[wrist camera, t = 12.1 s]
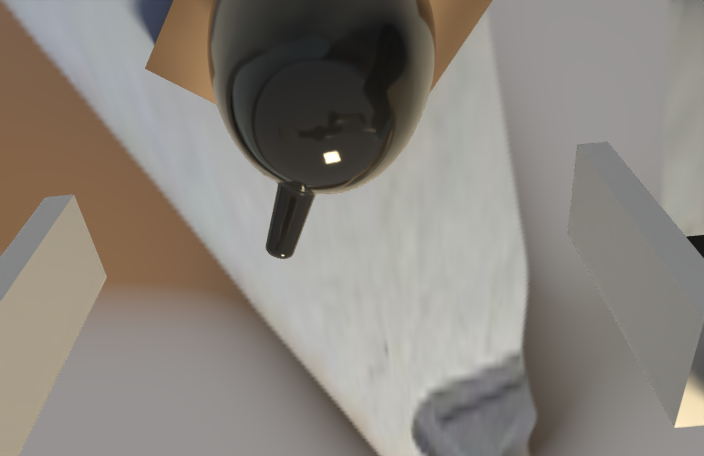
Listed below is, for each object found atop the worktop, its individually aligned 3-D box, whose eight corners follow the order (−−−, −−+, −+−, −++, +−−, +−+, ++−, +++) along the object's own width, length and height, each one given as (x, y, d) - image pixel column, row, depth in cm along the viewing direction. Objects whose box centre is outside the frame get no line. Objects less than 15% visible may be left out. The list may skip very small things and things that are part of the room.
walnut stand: (501, -46, 34) (515, -35, 31) (367, 158, 40) (369, 181, 38) (265, -206, 29) (259, -208, 27) (157, 50, 36) (144, 68, 33)
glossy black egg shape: (203, 80, 34) (128, 241, 21) (250, -129, 29) (188, -80, 16) (380, 135, 36) (407, 310, 23) (454, -50, 31) (542, 47, 18)
